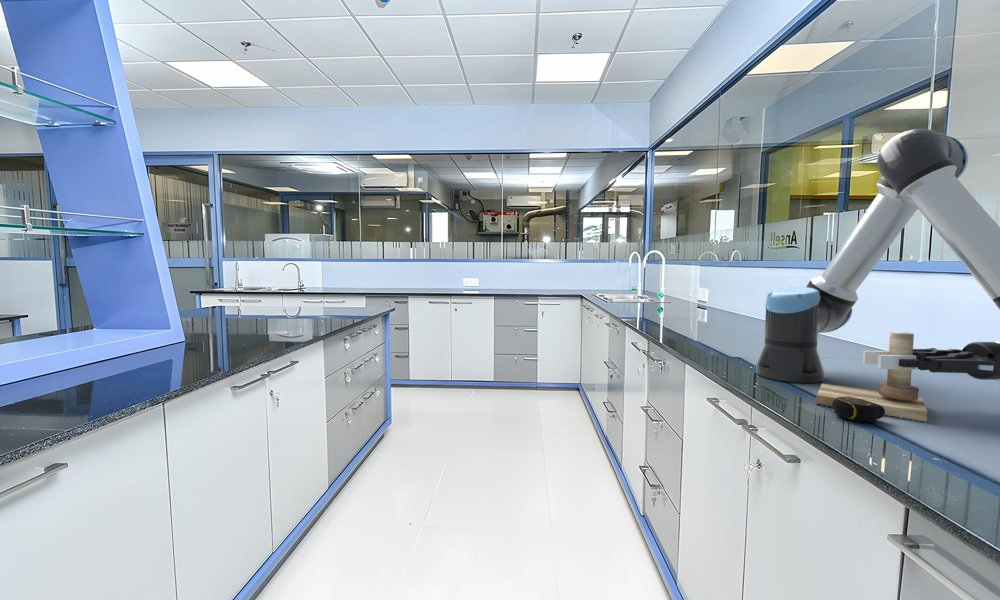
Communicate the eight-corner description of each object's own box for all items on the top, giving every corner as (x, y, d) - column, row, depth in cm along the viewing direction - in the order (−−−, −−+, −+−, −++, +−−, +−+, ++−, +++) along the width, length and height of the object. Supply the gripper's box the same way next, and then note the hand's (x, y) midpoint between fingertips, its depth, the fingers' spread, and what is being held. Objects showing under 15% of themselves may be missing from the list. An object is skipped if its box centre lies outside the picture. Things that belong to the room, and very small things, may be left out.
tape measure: (886, 423, 83) (887, 403, 83) (861, 427, 81) (862, 407, 81) (848, 411, 90) (849, 393, 89) (824, 415, 87) (825, 396, 87)
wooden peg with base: (878, 389, 94) (882, 330, 93) (916, 395, 91) (921, 332, 90) (878, 397, 89) (882, 334, 88) (919, 403, 85) (923, 337, 84)
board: (821, 391, 103) (821, 383, 103) (921, 406, 92) (922, 397, 92) (816, 404, 94) (816, 395, 93) (926, 422, 83) (927, 412, 82)
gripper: (1042, 390, 80) (903, 388, 82) (956, 369, 96) (843, 368, 99) (1046, 350, 79) (905, 349, 82) (959, 335, 96) (844, 335, 98)
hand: (871, 359), depth 90 cm, fingers closed on wooden peg with base, 4 cm apart
